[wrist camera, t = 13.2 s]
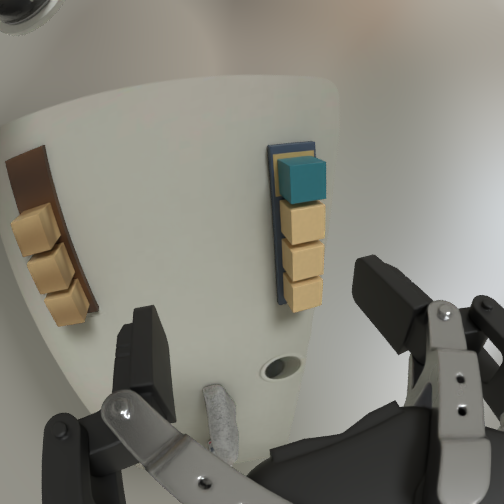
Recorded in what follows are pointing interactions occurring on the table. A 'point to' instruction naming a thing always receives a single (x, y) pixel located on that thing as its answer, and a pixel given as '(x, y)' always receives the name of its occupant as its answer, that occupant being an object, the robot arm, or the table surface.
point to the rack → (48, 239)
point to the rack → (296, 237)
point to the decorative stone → (222, 423)
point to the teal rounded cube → (302, 179)
